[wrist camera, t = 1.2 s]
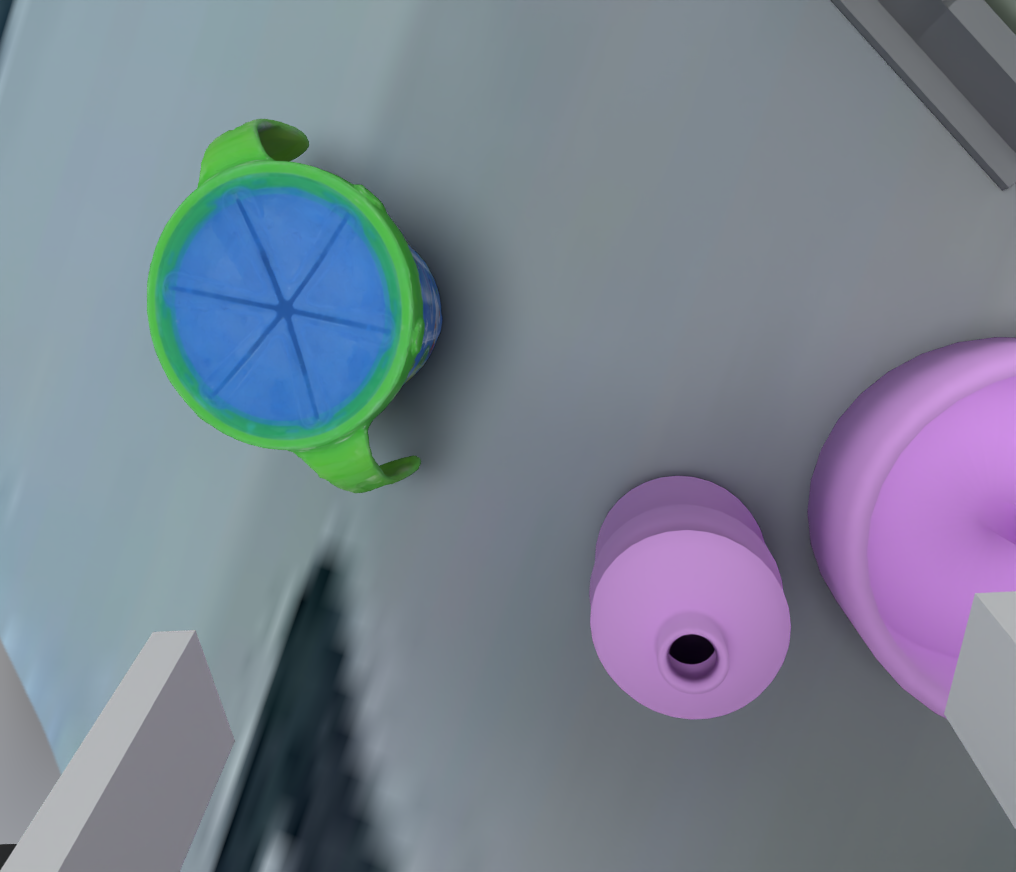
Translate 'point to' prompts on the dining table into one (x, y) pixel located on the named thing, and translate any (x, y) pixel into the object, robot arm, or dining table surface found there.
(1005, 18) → the sage key
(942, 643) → the container set
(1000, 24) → the grid organizer tray
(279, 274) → the snack cup
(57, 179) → the dining table surface
